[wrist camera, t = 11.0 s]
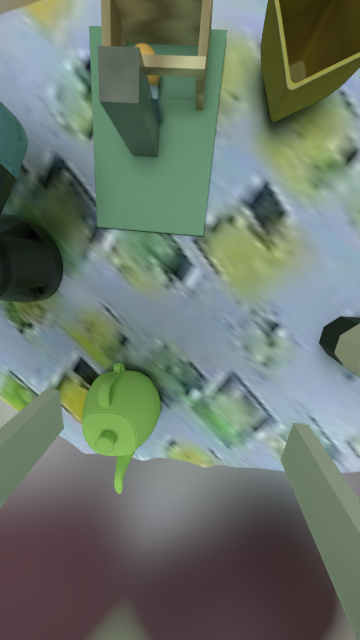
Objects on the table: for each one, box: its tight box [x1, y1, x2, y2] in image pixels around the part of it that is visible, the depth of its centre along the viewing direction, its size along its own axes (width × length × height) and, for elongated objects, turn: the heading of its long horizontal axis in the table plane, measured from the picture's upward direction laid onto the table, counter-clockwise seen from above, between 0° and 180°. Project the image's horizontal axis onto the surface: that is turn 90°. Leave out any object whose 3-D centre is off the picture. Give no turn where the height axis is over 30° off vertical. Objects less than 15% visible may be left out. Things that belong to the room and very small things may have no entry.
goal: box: [101, 0, 213, 110], centre depth 23 cm, size 12×8×6 cm, turn 85°
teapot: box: [82, 362, 161, 494], centre depth 37 cm, size 22×15×13 cm
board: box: [89, 26, 227, 237], centre depth 29 cm, size 18×24×1 cm
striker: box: [98, 46, 163, 156], centre depth 23 cm, size 5×5×10 cm
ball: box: [135, 43, 160, 86], centre depth 25 cm, size 4×4×4 cm
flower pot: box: [261, 0, 360, 122], centre depth 22 cm, size 9×9×9 cm
